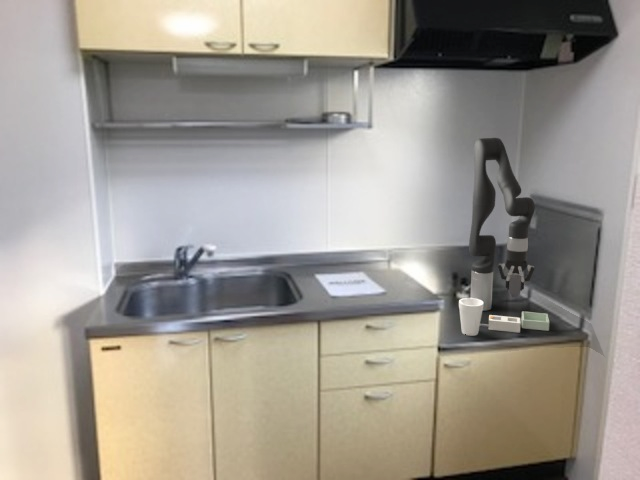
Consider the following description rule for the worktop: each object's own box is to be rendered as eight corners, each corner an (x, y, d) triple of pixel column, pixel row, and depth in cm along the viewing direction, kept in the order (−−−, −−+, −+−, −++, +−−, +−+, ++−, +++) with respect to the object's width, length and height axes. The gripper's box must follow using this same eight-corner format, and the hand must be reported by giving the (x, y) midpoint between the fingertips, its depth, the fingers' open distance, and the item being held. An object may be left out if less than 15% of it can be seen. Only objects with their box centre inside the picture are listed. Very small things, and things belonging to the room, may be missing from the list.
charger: (508, 293, 216) (509, 272, 214) (519, 294, 215) (520, 272, 213) (508, 298, 211) (510, 276, 209) (519, 299, 210) (521, 277, 208)
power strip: (473, 322, 224) (474, 312, 223) (519, 326, 218) (520, 316, 217) (473, 327, 218) (473, 317, 217) (519, 332, 213) (520, 322, 212)
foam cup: (467, 338, 208) (468, 307, 205) (453, 330, 217) (454, 300, 213) (487, 334, 212) (488, 303, 209) (472, 326, 220) (473, 296, 217)
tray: (521, 319, 226) (521, 311, 225) (546, 321, 223) (547, 313, 222) (522, 328, 217) (522, 320, 216) (548, 330, 214) (549, 322, 213)
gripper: (536, 246, 210) (533, 288, 214) (498, 244, 214) (495, 285, 218) (537, 251, 203) (534, 294, 207) (498, 249, 207) (495, 291, 211)
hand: (514, 289), depth 213 cm, fingers closed on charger, 4 cm apart
